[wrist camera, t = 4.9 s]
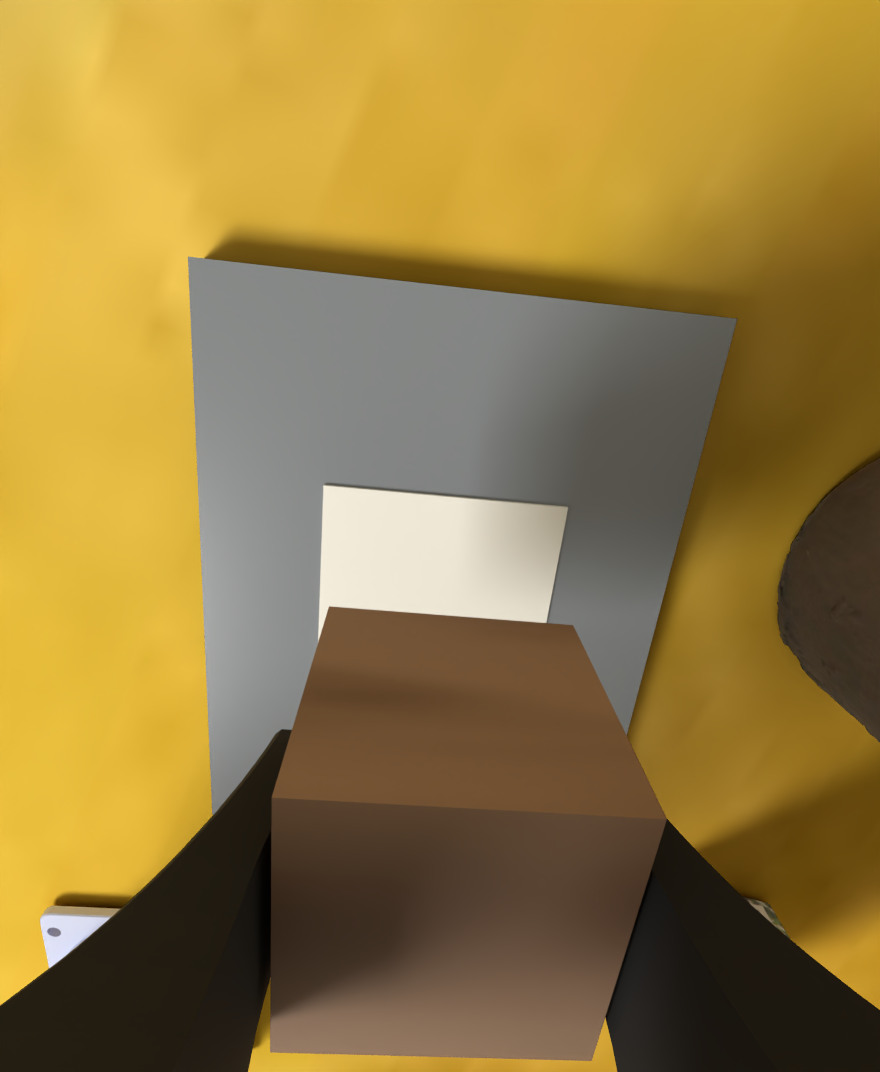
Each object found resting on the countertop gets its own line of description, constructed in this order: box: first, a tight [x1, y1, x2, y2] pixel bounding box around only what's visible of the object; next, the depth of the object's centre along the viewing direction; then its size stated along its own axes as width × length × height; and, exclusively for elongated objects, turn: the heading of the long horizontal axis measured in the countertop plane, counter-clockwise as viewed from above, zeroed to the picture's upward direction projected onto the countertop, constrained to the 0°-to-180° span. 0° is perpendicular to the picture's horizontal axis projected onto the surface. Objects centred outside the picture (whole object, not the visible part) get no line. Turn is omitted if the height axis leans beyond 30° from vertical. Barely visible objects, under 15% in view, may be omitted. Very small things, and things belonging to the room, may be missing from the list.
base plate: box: [188, 257, 737, 815], centre depth 19 cm, size 18×14×1 cm
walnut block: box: [270, 606, 667, 1061], centre depth 11 cm, size 5×5×5 cm
